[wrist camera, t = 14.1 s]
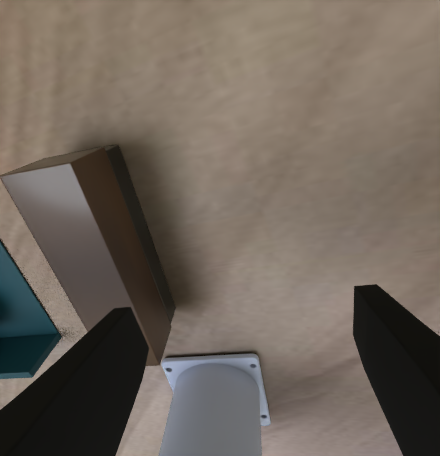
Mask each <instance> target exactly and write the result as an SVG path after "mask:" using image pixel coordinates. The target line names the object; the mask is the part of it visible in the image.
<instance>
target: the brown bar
mask: <svg viewBox="0 0 440 456" xmlns="http://www.w3.org/2000/svg"><path fill="white" fill-rule="evenodd" d="M0 178H1V180H2V182H3V184H4V185H5V187H6V189H7V191H8V193H9V194H10V196H11V198H12V200H13V201H14V203H15V205H16V207H17V208H18V210H19V212H20V214H21V215H22V217H23V219H24V221H25V222H26V224H27V226H28V228H29V229H30V231H31V233H32V235H33V236H34V238H35V240H36V242H37V244H38V245H39V247H40V249H41V251H42V252H43V254H44V256H45V258H46V259H47V261H48V263H49V265H50V266H51V268H52V270H53V272H54V273H55V275H56V277H57V279H58V280H59V282H60V284H61V286H62V287H63V289H64V291H65V293H66V295H67V296H68V298H69V300H70V302H71V303H72V305H73V307H74V309H75V310H76V312H77V314H78V316H79V317H80V319H81V321H82V323H83V324H84V326H85V328H86V330H87V331H88V332H89V331H90V330H91V329H92V328H93V327H94V326H95V325H96V324H97V323H98V322H99V321H100V320H101V319H103V318H104V317H105V316H106V315H107V314H108V313H109V312H110V311H112V310H113V309H114V308H122V307H131V309H132V311H133V313H134V315H135V317H136V320H137V322H138V324H139V326H140V328H141V331H142V333H143V335H144V337H145V340H146V342H147V344H148V346H149V352H148V356H147V361H146V366H156V365H160V362H161V359H162V356H163V353H164V349H165V346H166V343H167V340H168V336H169V333H170V330H171V321H172V318H173V315H174V312H175V309H176V307H175V304H174V301H173V298H172V296H171V293H170V290H169V287H168V284H167V281H166V278H165V276H164V273H163V270H162V267H161V264H160V261H159V258H158V256H157V253H156V250H155V247H154V244H153V241H152V239H151V236H150V233H149V230H148V227H147V224H146V221H145V219H144V216H143V213H142V210H141V207H140V204H139V201H138V199H137V196H136V193H135V190H134V187H133V184H132V182H131V179H130V176H129V173H128V170H127V167H126V164H125V162H124V159H123V156H122V153H121V150H120V147H119V145H112V146H107V147H100V148H94V149H89V150H84V151H79V152H74V153H69V154H64V155H59V156H53V157H48V158H44V159H41V160H39V161H36V162H34V163H31V164H28V165H26V166H23V167H21V168H18V169H16V170H13V171H10V172H8V173H5V174H3V175H0Z"/></svg>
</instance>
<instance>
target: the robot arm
mask: <svg viewBox="0 0 440 456" xmlns="http://www.w3.org/2000/svg"><path fill="white" fill-rule="evenodd" d="M353 336H354V339H355V342H356V346H357V349H358V352H359V355H360V358H361V361H362V364H363V367H364V370H365V372H366V374H367V376H368V379H369V381H370V383H371V385H372V388H373V390H374V392H375V394H376V397H377V399H378V401H379V403H380V405H381V408H382V410H383V412H384V414H385V417H386V419H387V421H388V423H389V425H390V428H391V430H392V432H393V434H394V436H395V439H396V441H397V443H398V445H399V447H400V450H401V452H402V454H403V456H440V336H439V335H437V334H436V333H435V332H434V331H432V330H431V329H430V328H428V327H427V326H426V325H425V324H424V323H422V322H421V321H420V320H419V319H417V318H416V317H415V316H414V315H413V314H411V313H410V312H409V311H408V310H407V309H405V308H404V307H403V306H402V305H401V304H399V303H398V302H397V301H396V300H395V299H394V298H392V297H391V296H390V295H389V294H388V293H386V292H385V291H384V290H383V289H382V288H380V287H379V286H378V285H377V284H375V285H364V286H354V320H353ZM148 352H149V346H148V344H147V342H146V340H145V337H144V335H143V333H142V331H141V328H140V326H139V324H138V322H137V320H136V317H135V315H134V313H133V311H132V309H131V307H122V308H114V309H113V310H112V311H110V312H109V313H108V314H107V315H106V316H105V317H104V318H103V319H101V320H100V321H99V322H98V323H97V324H96V325H95V326H94V327H93V328H92V329H91V330H90V331H89V332H88V333H87V334H85V335H84V336H83V337H82V338H81V339H80V340H79V341H78V342H77V343H76V344H75V345H74V346H73V347H72V348H71V349H70V350H68V351H67V352H66V353H65V354H64V355H63V356H62V357H61V358H60V359H59V360H58V361H57V362H56V363H54V364H53V365H52V366H51V367H50V368H49V369H48V370H46V371H45V372H44V373H43V374H42V375H41V376H40V377H39V378H37V379H36V380H35V381H34V382H33V383H32V384H31V385H29V386H28V387H27V388H26V389H25V390H24V391H23V392H22V393H20V394H19V395H18V396H17V397H16V398H14V399H13V400H12V401H11V402H10V403H8V404H7V405H6V406H5V407H3V408H2V409H1V410H0V456H115V455H116V453H117V450H118V447H119V444H120V441H121V438H122V436H123V433H124V430H125V427H126V424H127V422H128V419H129V416H130V413H131V410H132V408H133V405H134V402H135V399H136V396H137V393H138V390H139V387H140V384H141V381H142V378H143V374H144V370H145V366H146V361H147V356H148ZM162 367H163V370H164V372H165V374H166V377H167V379H168V381H169V384H170V386H171V388H172V390H173V397H172V401H171V405H170V410H169V414H168V418H167V422H166V426H165V431H164V435H163V439H162V443H161V447H160V452H159V456H262V447H261V426H268V425H270V423H271V420H270V414H269V409H268V404H267V399H266V394H265V388H264V383H263V378H262V373H261V368H260V363H259V357H258V356H257V355H256V354H252V353H251V354H232V355H213V356H195V357H176V358H165V359H163V361H162Z"/></svg>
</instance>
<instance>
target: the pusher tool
mask: <svg viewBox="0 0 440 456" xmlns="http://www.w3.org/2000/svg"><path fill="white" fill-rule="evenodd" d="M60 338H62V337H61V335H60V334H59V332H58V331H57V329H56V328H55V326H54V324H53V323H52V321H51V320H50V318H49V317H48V315H47V313H46V312H45V310H44V309H43V307H42V306H41V304H40V302H39V301H38V299H37V298H36V296H35V295H34V293H33V291H32V290H31V288H30V287H29V285H28V283H27V282H26V280H25V279H24V277H23V276H22V274H21V272H20V271H19V269H18V268H17V266H16V265H15V263H14V261H13V260H12V258H11V257H10V255H9V254H8V252H7V250H6V249H5V247H4V246H3V244H2V243H1V241H0V379H9V378H32V377H33V376H34V375H35V373H36V372H37V371H38V369H39V368H40V366H41V365H42V364H43V362H44V361H45V359H46V358H47V357H48V355H49V354H50V353H51V351H52V350H53V348H54V347H55V346H56V344H57V343H58V341H59V340H60Z"/></svg>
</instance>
